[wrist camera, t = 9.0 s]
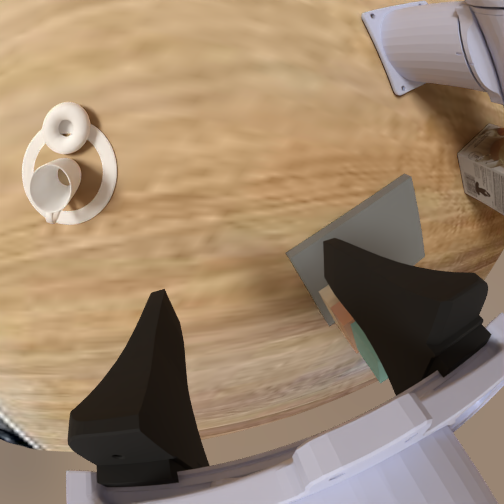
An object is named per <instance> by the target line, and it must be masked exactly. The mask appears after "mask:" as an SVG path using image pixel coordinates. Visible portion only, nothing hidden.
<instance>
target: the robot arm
mask: <svg viewBox="0 0 504 504" xmlns="http://www.w3.org/2000/svg"><path fill="white" fill-rule="evenodd" d="M370 14H371V15H372V17H373V18H371V16H370ZM361 17H362V20H363V21H364V23H365V25H366V27H367V29H368V31H369V34H370V36H371V38H372V40H373V42H374V44H375V46H376V49H377V51H378V53H379V55H380V58H381V60H382V63H383V65H384V67H385V70H386V72H387V75H388V77H389V80H390V83H391V85H392V88H393V91H394V93H395V94H396V95H403V94H405V93H407V92H409V91H411V90H413V89H415V88H417V87H419V86H421V85H423V84H425V83H434V84H442V85H449V86H456V87H462V88H468V89H473V90H478V91H483V92H487V93H488V95H489V97H490V100H491V102H494V103H498V104H502V105H503V106H504V0H465V1H455V2H443V3H434V4H428V3H427V2H426V1H419V2H412V3H406V4H401V5H395V6H390V7H386V8H381V9H377V10H372V11H368V12H365V13H362V16H361ZM401 87H402V88H403V89H402V88H401ZM323 252H324V278H325V279H326V281H327V283H328V285H329V286H330V288H331V290H332V291H333V293H334V295H335V296H336V297H337V298H338V300H339V301H340V302H341V304H342V305H343V306H344V307H345V309H346V310H347V311H348V312H349V314H350V315H351V316H352V317H353V319H354V320H355V321H356V323H357V324H358V325H359V326H360V328H361V329H362V331H363V332H364V334H365V335H366V337H367V339H368V340H369V342H370V344H371V345H372V347H373V349H374V351H375V352H376V354H377V356H378V358H379V360H380V362H381V364H382V366H383V368H384V370H385V372H386V374H387V376H388V378H389V380H390V382H391V385H392V387H393V390H394V392H395V394H396V396H395V397H393V398H392V399H390V400H388V401H386V402H384V403H383V404H381V405H379V406H377V407H375V408H373V409H371V410H369V411H367V412H365V413H363V414H361V415H359V416H357V417H355V418H353V419H351V420H348V421H346V422H344V423H342V424H339V425H337V426H335V427H333V428H330V429H328V430H325V431H323V432H321V433H318V434H316V435H313V436H311V437H308V438H305V439H303V440H300V441H297V442H294V443H292V444H289V445H286V446H283V447H280V448H277V449H273V450H270V451H267V452H264V453H261V454H257V455H253V456H250V457H246V458H242V459H238V460H235V461H230V462H226V463H222V464H217V465H212V466H209V463H208V460H207V457H206V455H205V452H204V448H203V446H202V442H201V439H200V435H199V432H198V429H197V425H196V421H195V417H194V414H193V409H192V405H191V401H190V396H189V391H188V385H187V374H186V362H185V350H184V341H183V335H182V330H181V325H180V322H179V320H178V317H177V315H176V313H175V311H174V309H173V307H172V305H171V302H170V300H169V298H168V296H167V293H166V291H165V289H163V290H159V291H156V292H152V293H151V294H150V296H149V299H148V301H147V303H146V306H145V308H144V310H143V312H142V315H141V317H140V319H139V321H138V323H137V325H136V328H135V330H134V332H133V334H132V335H131V337H130V339H129V341H128V343H127V345H126V347H125V348H124V350H123V352H122V353H121V355H120V356H119V358H118V360H117V361H116V362H115V364H114V365H113V367H112V368H111V369H110V371H109V372H108V373H107V375H106V376H105V377H104V378H103V380H102V381H101V382H100V383H99V384H98V386H97V387H96V388H95V389H94V390H93V391H92V392H91V393H90V394H89V395H88V396H87V397H86V398H85V399H84V400H83V401H82V402H81V403H80V404H79V405H78V406H77V407H76V408H74V409H73V410H72V411H71V413H70V420H69V431H68V445H69V446H70V447H71V449H72V450H73V451H74V452H76V453H77V454H79V455H80V456H82V457H83V458H85V459H87V460H88V461H90V462H92V463H94V464H95V465H97V472H93V471H84V470H83V471H82V470H67V471H66V494H67V504H498V502H497V501H496V499H495V497H494V496H493V494H492V492H491V491H490V489H489V487H488V486H487V484H486V483H485V481H484V479H483V478H482V476H481V474H480V473H479V471H478V470H477V468H476V467H475V465H474V464H473V462H472V461H471V459H470V457H469V456H468V454H467V453H466V451H465V450H464V448H463V447H462V445H461V444H460V443H459V441H458V439H457V438H456V437H455V435H454V434H453V432H454V431H455V430H457V429H458V428H459V427H460V426H462V425H463V424H464V423H465V422H466V421H467V420H469V419H470V418H471V417H472V416H473V415H474V414H475V413H476V412H477V411H478V410H480V409H481V408H482V407H483V406H484V405H485V404H486V403H487V402H488V401H489V400H490V399H491V398H492V397H493V396H494V395H495V394H496V393H497V392H498V391H499V390H500V389H501V388H502V387H503V386H504V314H503V313H500V314H499V315H498V316H497V317H496V318H495V319H493V320H492V321H491V322H490V323H489V324H488V325H487V327H486V328H485V327H484V326H483V325H482V323H483V319H482V318H481V317H480V316H479V314H480V311H481V309H482V307H483V304H484V302H485V299H486V296H487V292H488V285H487V283H486V282H485V281H484V280H483V279H481V278H480V277H479V276H478V275H477V274H475V273H460V272H445V271H437V270H430V269H425V268H420V267H415V266H411V265H407V264H404V263H400V262H397V261H394V260H391V259H388V258H385V257H382V256H380V255H377V254H374V253H372V252H369V251H367V250H364V249H362V248H360V247H357V246H355V245H353V244H350V243H348V242H345V241H343V240H340V239H337V238H332V239H329V240H326V241H323Z"/></svg>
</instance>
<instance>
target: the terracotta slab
mask: <svg viewBox="0 0 504 504" xmlns="http://www.w3.org/2000/svg"><path fill="white" fill-rule="evenodd" d="M331 310H332V312H333V314H334V316H335V318H336V320H337V322H338V324H339V326H340V328H341V330H342V331H343V333H344V335H345V337H346V339H347V340H348V342H349V343H350V345H351V346H352V347H353V349H354V350H355V352H356V353H358V352H359V351H358V350H357V346H356V342H355V339H354V335H353V332H352V328H351V325H350V324H352V323H353V322H355V320H354V319H353V317H352V316H351V315H350V314H349V312H348V311H347V310H346V309H345V307H344V306H343V305H342V304H341V302H340V301H339V302H338V303H337V304H335V305H334V306H332V307H331Z"/></svg>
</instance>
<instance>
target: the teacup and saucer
mask: <svg viewBox="0 0 504 504" xmlns="http://www.w3.org/2000/svg"><path fill="white" fill-rule="evenodd" d="M67 133H71V135H70V136H67V137H65V136H63V135H61V134H67ZM87 140H88V141H90V142H91V143H92V144H93V145H94V147H95V148H96V150H97V151H98V153H99V155H100V158H101V161H102V166H103V178H102V183H101V186H100V189H99V191H98V193H97V195H96V196H95V197H94V199H93V200H92V201H91V202H90V203H89V204H87V205H86V206H85V207H83V208H81V209H78V210H74V211H62V209H63V208H65V206H66V205H67V204H68V203H69V201H70V200H71V198H72V197H73V195H74V194H75V192H76V191H77V189H78V187H79V184H80V181H81V169H80V167H79V165H78V164H77V163H76V162H75V161H74V160H72V159H70V158H60V159H56V160H53V161H51V162H49V163H46V164H44V165H42V166H40V167H39V168H38V169H37V170H36V171H35V172H34V164H35V160H36V157H37V155H38V153H39V151H40V149H41V148H42V147H43V145H44V144H45V143H46V144H47V146H48V147H49V148H50V149H51V150H53V151H54V152H57V153H60V154H70V153H73V152H75V151H77V150H79V149H80V148H81V147H82V146H83V145H84V144H85V142H86V141H87ZM59 168H60V169H61V170H62V171H63V172H64V173H65V174H66V176H67V177H68V180H69V183H70V185H69V186H67V185H63V184H62V183H61V182H60V181H59V179H58V170H59ZM116 179H117V163H116V158H115V154H114V151H113V148H112V146H111V144H110V142H109V141H108V139H107V138H106V136H105V135H104V134H103V133H102V132H101V131H100V130H99V129H98V128H97V127H95V126H94V125H92V124H90V120H89V116H88V114H87V112H86V111H85V110H84V108H82V107H81V106H80V105H79V104H77V103H74V102H63V103H60V104H58V105H56V106H55V107H53V108H52V109H51V110H50V111H49V112H48V114H47V115H46V117H45V120H44V123H43V128H42V129H41V130H40V131H39V132H38V133H37V134H36V135H35V136H34V138H33V139H32V141H31V142H30V144H29V146H28V148H27V150H26V153H25V156H24V159H23V165H22V180H23V185H24V189H25V192H26V195H27V197H28V199H29V201H30V202H31V204H32V205H33V207H34V208H35V209H36V210H37V211H38V212H39V213H40V214H41V215H43V216H44V217H45V218H46V221H47V222H48V223H51V224H55V223H59V224H66V225H72V224H79V223H83V222H85V221H88V220H90V219H91V218H93V217H95V216H96V215H97V214H98V213H100V212H101V211H102V210H103V208H104V207H105V206H106V205H107V203H108V202H109V200H110V198H111V196H112V194H113V191H114V188H115V185H116Z"/></svg>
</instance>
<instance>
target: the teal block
mask: <svg viewBox="0 0 504 504" xmlns="http://www.w3.org/2000/svg"><path fill="white" fill-rule="evenodd" d="M350 325H351V328H352V332H353V335H354V339H355V342H356V346H357V350H358V351H359V352H360V354H361V355H362V357H363V358H364V360H365V361H366V363H367V364H368V366H369V367H370V368H371V370H372V371H373V373H374V374H375V376H376V377H377V379H378V380H379V382H380V383H382V382H383V381H385V380H386V379H388V376H387V374H386V372H385V370H384V368H383V366H382V364H381V362H380V360H379V358H378V356H377V354H376V352H375V351H374V349H373V347H372V345H371V344H370V342H369V340H368V339H367V337H366V335H365V334H364V332H363V331H362V329H361V328H360V326H359V325H358V324H357V323H356V321H355V322H353V323H352V324H350Z"/></svg>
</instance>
